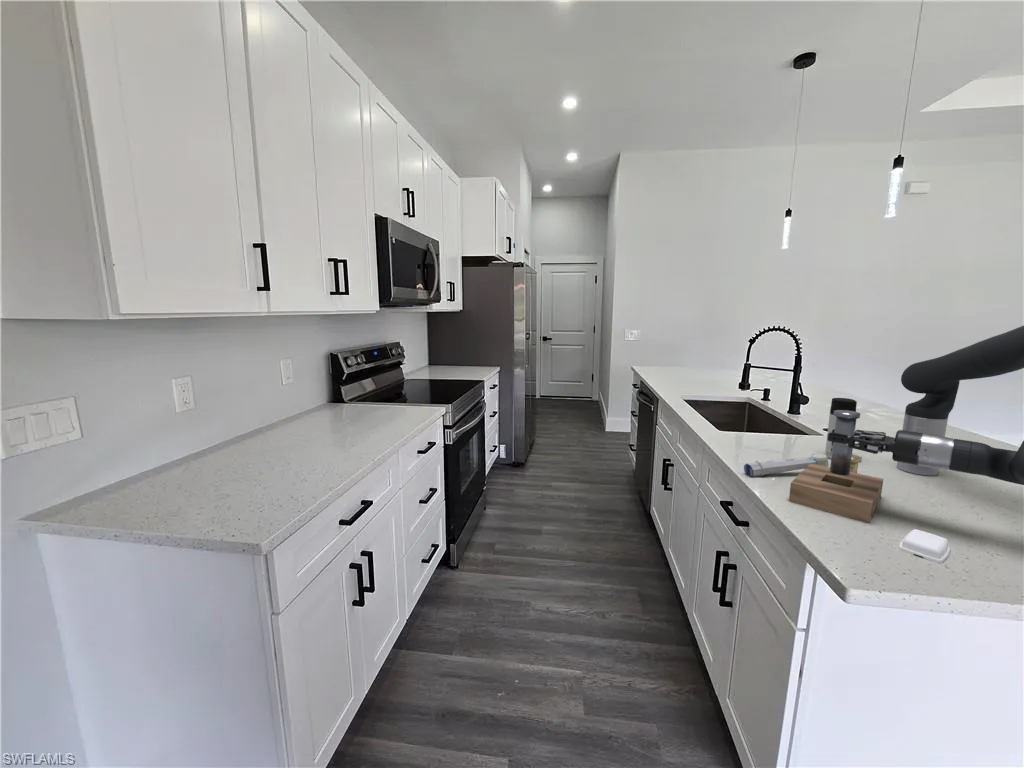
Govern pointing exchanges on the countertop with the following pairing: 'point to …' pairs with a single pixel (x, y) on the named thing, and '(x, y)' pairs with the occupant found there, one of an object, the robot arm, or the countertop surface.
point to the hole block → (837, 492)
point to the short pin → (855, 463)
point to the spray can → (835, 405)
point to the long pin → (840, 450)
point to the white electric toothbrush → (784, 465)
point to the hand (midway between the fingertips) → (830, 434)
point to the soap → (925, 545)
